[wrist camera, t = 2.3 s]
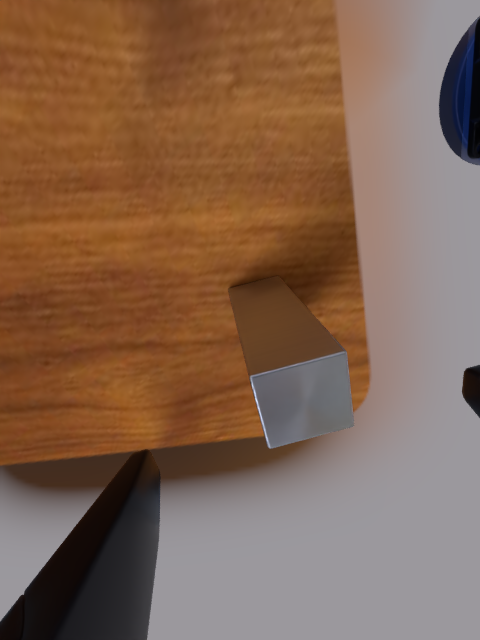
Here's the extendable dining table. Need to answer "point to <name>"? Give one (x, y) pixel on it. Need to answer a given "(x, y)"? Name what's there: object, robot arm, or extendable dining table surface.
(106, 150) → the extendable dining table surface
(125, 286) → the extendable dining table surface
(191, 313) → the extendable dining table surface
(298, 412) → the metal peg
